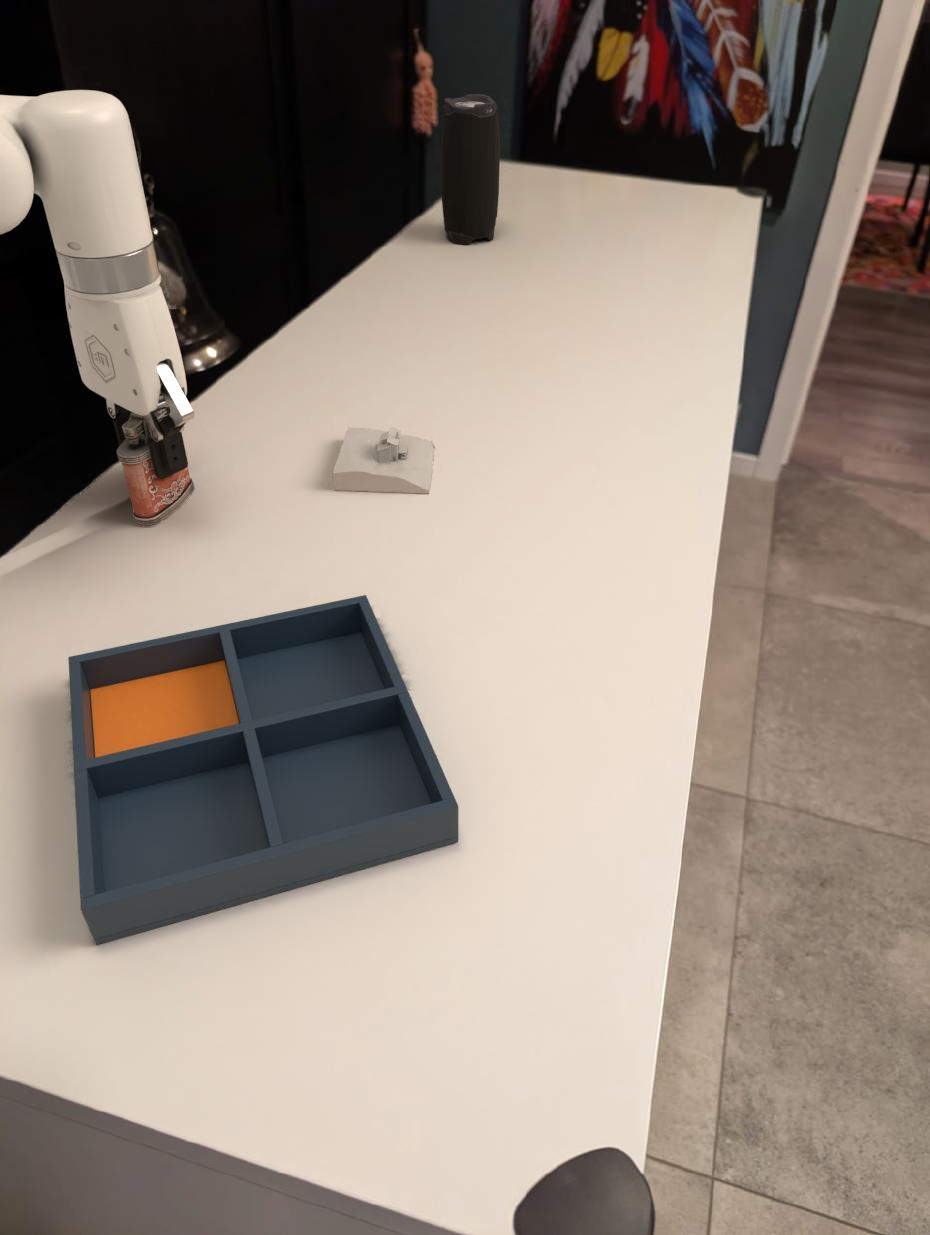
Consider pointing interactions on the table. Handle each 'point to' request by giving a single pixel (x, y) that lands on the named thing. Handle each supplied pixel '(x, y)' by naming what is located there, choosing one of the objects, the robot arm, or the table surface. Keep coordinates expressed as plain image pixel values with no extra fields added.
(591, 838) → the table surface
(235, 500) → the table surface
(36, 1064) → the table surface
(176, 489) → the lighter
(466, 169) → the portable speaker
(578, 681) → the table surface
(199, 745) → the tray
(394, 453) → the miniature house
